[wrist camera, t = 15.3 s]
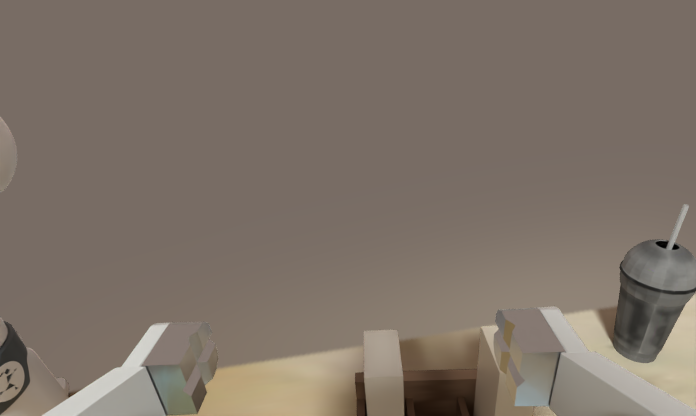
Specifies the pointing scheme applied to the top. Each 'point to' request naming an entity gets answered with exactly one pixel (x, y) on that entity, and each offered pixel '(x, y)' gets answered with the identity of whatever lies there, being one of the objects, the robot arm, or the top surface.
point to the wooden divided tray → (431, 392)
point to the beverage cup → (652, 295)
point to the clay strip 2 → (493, 382)
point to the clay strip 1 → (383, 373)
